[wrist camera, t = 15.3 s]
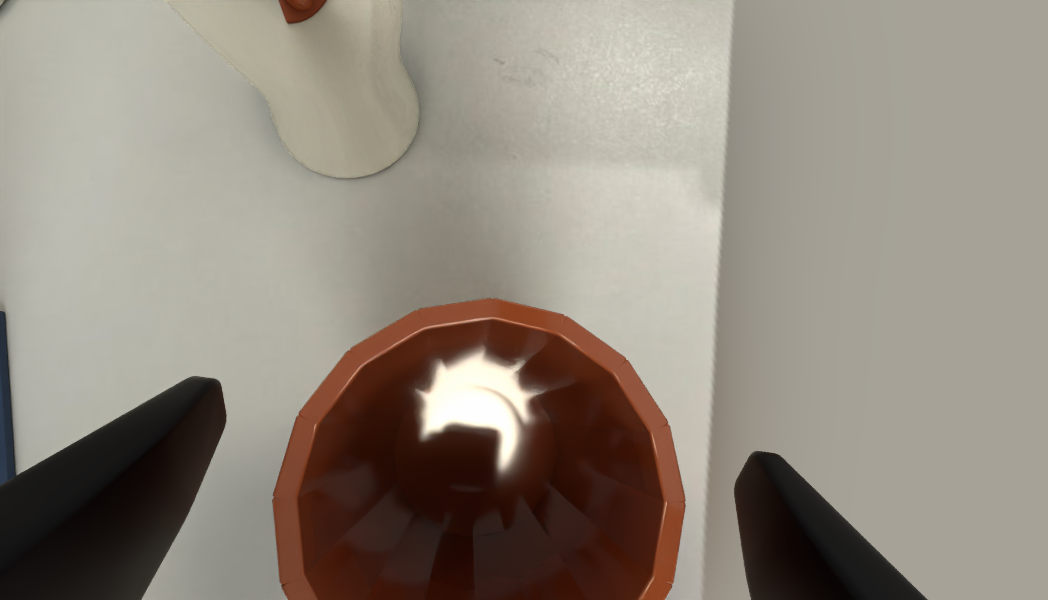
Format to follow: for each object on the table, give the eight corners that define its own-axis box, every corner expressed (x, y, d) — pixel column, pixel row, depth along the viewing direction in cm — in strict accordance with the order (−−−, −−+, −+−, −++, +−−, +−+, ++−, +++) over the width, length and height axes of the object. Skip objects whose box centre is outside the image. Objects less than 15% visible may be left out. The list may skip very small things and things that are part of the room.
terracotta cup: (496, 580, 21) (535, 825, 9) (349, 473, 22) (181, 559, 9) (596, 428, 23) (754, 448, 10) (457, 328, 23) (443, 227, 10)
